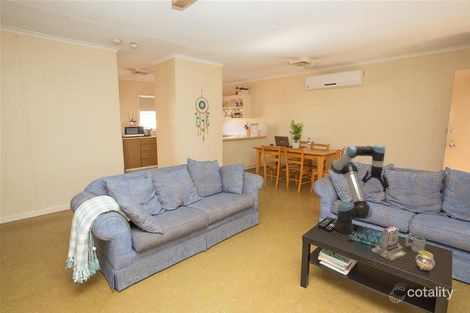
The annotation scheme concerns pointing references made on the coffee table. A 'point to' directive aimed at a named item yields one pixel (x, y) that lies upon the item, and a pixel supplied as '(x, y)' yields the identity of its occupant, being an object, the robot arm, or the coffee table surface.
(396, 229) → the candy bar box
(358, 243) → the coffee table surface
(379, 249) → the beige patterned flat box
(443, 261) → the coffee table surface
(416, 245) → the mug
